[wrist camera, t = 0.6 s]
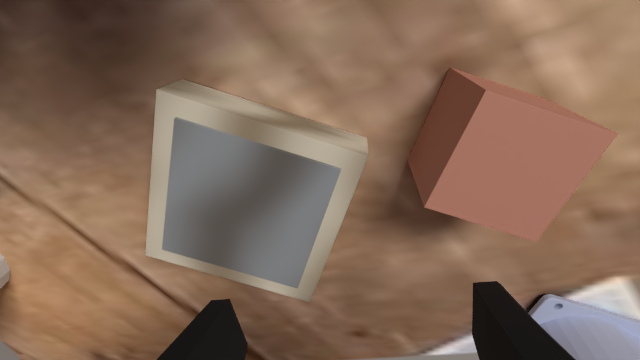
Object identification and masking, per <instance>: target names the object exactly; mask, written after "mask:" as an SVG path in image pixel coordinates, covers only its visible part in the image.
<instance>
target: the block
mask: <svg viewBox="0 0 640 360" xmlns="http://www.w3.org/2000/svg"><path fill="white" fill-rule="evenodd" d="M617 135H618V133H615V132H613V131H611V130H609V129H607V128H605V127H603V126H601V125H599V124H597V123H595V122H592V121H590V120H588V119H586V118H584V117H582V116H580V115H578V114H576V113H574V112H572V111H569V110H567V109H565V108H563V107H561V106H559V105H557V104H555V103H553V102H551V101H549V100H546V99H543V98H540V97H537V96H534V95H531V94H528V93H525V92H522V91H519V90H516V89H513V88H510V87H507V86H504V85H501V84H498V83H495V82H492V81H489V80H486V79H483V78H480V77H477V76H474V75H471V74H468V73H465V72H462V71H459V70H456V69H453V68H449V71H448V73H447V75H446V77H445V79H444V81H443V83H442V86H441V88H440V90H439V92H438V94H437V96H436V99H435V101H434V103H433V105H432V107H431V109H430V112H429V114H428V116H427V118H426V120H425V122H424V125H423V127H422V129H421V131H420V133H419V135H418V137H417V140H416V142H415V144H414V146H413V148H412V150H411V153H410V155H409V157H408V159H407V160H408V163H409V166H410V169H411V171H412V174H413V177H414V180H415V183H416V186H417V188H418V191H419V194H420V197H421V200H422V203H423V205H424V207H425V208H428V209H431V210H435V211H438V212H441V213H444V214H448V215H451V216H454V217H457V218H461V219H464V220H467V221H470V222H474V223H477V224H480V225H483V226H487V227H490V228H493V229H496V230H500V231H503V232H506V233H509V234H513V235H516V236H519V237H522V238H526V239H529V240H532V241H535V242H536V241H537V240H538V238H539V237H540V236H541V234H542V233H543V232H544V231H545V229H546V228H547V227H548V225H549V224H550V223H551V221H552V220H553V219H554V217H555V216H556V215H557V213H558V212H559V211H560V210H561V208H562V207H563V206H564V204H565V203H566V202H567V200H568V199H569V198H570V196H571V195H572V194H573V192H574V191H575V190H576V189H577V187H578V186H579V185H580V183H581V182H582V181H583V179H584V178H585V177H586V175H587V174H588V173H589V171H590V170H591V169H592V168H593V166H594V165H595V164H596V162H597V161H598V160H599V158H600V157H601V156H602V154H603V153H604V152H605V150H606V149H607V148H608V147H609V145H610V144H611V143H612V141H613V140H614V139H615V137H616V136H617Z"/></svg>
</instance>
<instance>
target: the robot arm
mask: <svg viewBox="0 0 640 360" xmlns="http://www.w3.org/2000/svg"><path fill="white" fill-rule="evenodd" d="M472 335H473V339H474V342H475V346H476V349H477V353H478V356H479V359H480V360H640V321H639V320H636V319H632V318H629V317H626V316H622V315H619V314H616V313H612V312H609V311H606V310H602V309H599V308H596V307H592V306H589V305H586V304H582V303H579V302H576V301H572V300H569V299H566V298H562V297H559V296H556V295H552V294H547V295H544V296H542V297H541V298H540V300H539V301H538V302H537V303H536V304H535V305H534V307H533V308H532V309H531V310H530V311H529V312H528V313H527V312H526V311H525V310H524V309H523V308H522V307H521V305H520V304H519V303H518V302H517V301H516V300H515V299H514V298H513V297H512V296H511V295H510V294H509V293H508V292H507V291H506V290H505V288H504V287H503V286H502V285H501V284H500V283H498V282H497V281H493V282H478V283H473V321H472ZM246 349H247V341H246V339H245V337H244V334H243V332H242V329H241V327H240V324H239V322H238V319H237V317H236V314H235V312H234V309H233V307H232V304H231V302H230V299H225V300H211V301H210V302H209V304H208V305H207V306H206V307H205V308H204V309H203V310H202V311H201V312H200V313H199V314H198V315H197V316H196V317H195V319H194V320H193V321H192V322H191V323H190V324H189V325H188V326H187V327H186V329H185V330H184V331H183V332H182V333H181V334H180V335H179V336H178V337H177V338H176V339H175V341H174V342H173V343H172V344H171V345H170V346H169V347H168V348H167V349H166V350H165V351H164V352H163V353H162V355H161V356H160V357H159V358H158V359H157V360H245V355H246Z"/></svg>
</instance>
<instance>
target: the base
mask: <svg viewBox="0 0 640 360" xmlns="http://www.w3.org/2000/svg"><path fill="white" fill-rule="evenodd" d="M368 156H369V155H368V145H367V138H366V137H363V136H360V135H357V134H354V133H351V132H348V131H344V130H341V129H338V128H335V127H332V126H329V125H325V124H322V123H319V122H316V121H313V120H310V119H306V118H303V117H300V116H297V115H294V114H291V113H288V112H284V111H281V110H278V109H275V108H272V107H269V106H265V105H262V104H259V103H256V102H253V101H250V100H246V99H243V98H240V97H237V96H234V95H231V94H228V93H224V92H221V91H218V90H215V89H212V88H209V87H205V86H202V85H199V84H196V83H193V82H190V81H187V80H183V79H180V80H178V81H176V82H173V83H171V84H168V85H166V86H164V87H161V88H159V89H156V104H155V119H154V134H153V149H152V165H151V180H150V195H149V210H148V226H147V241H146V256H150V257H153V258H157V259H160V260H164V261H167V262H171V263H174V264H178V265H181V266H185V267H188V268H192V269H195V270H199V271H202V272H206V273H209V274H213V275H216V276H220V277H223V278H227V279H230V280H234V281H237V282H241V283H244V284H247V285H251V286H254V287H258V288H261V289H265V290H268V291H272V292H275V293H279V294H282V295H286V296H289V297H293V298H296V299H300V300H303V301H307V302H310V301H311V298H312V296H313V293H314V291H315V288H316V286H317V283H318V281H319V278H320V276H321V273H322V271H323V268H324V266H325V263H326V261H327V258H328V256H329V253H330V251H331V249H332V246H333V244H334V241H335V239H336V236H337V234H338V231H339V229H340V226H341V224H342V221H343V219H344V216H345V214H346V211H347V209H348V206H349V204H350V201H351V199H352V196H353V194H354V191H355V189H356V186H357V184H358V181H359V179H360V176H361V174H362V171H363V169H364V166H365V164H366V161H367V159H368Z"/></svg>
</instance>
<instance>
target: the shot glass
mask: <svg viewBox="0 0 640 360" xmlns="http://www.w3.org/2000/svg"><path fill="white" fill-rule="evenodd" d="M9 280H10V269H9V266H8V264H7V262H6V260H5V258H4V257H3V256H2V255H1V254H0V289H1V288H2V287H3V286H4V285H5V284H6V283H7V282H8V281H9Z"/></svg>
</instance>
